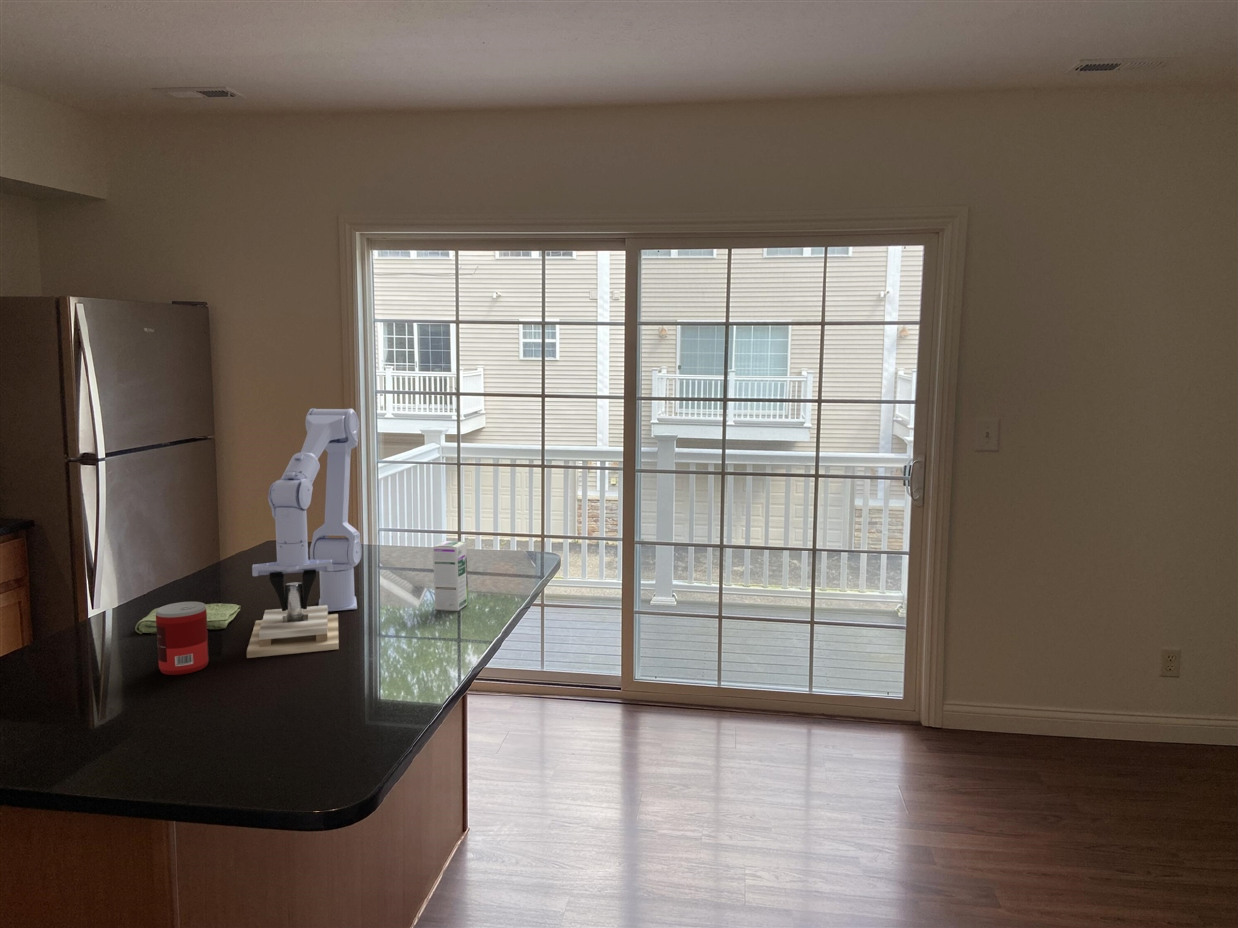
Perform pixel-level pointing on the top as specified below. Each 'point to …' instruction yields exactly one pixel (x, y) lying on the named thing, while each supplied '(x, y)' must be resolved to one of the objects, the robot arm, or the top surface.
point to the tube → (294, 602)
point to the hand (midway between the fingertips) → (294, 608)
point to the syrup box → (450, 575)
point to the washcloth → (215, 618)
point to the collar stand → (294, 633)
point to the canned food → (182, 637)
